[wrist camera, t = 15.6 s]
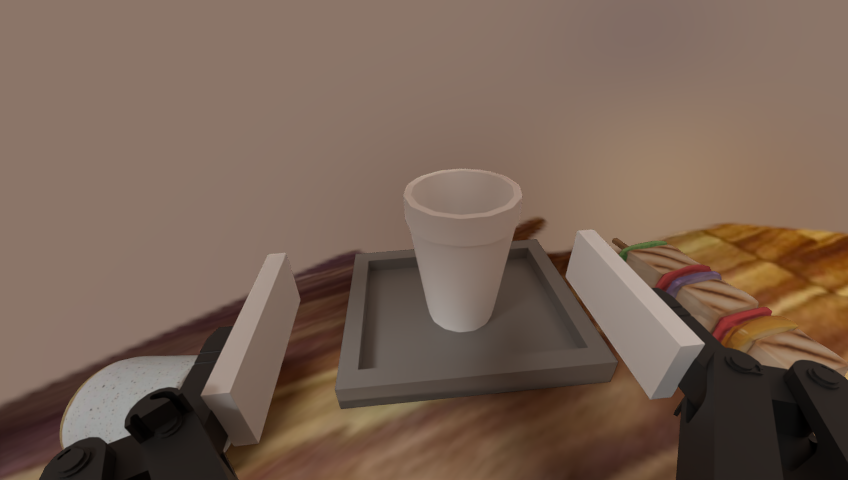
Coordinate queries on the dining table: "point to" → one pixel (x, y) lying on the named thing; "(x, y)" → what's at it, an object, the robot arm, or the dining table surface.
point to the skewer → (725, 308)
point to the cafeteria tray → (464, 335)
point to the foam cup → (462, 241)
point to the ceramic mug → (119, 396)
